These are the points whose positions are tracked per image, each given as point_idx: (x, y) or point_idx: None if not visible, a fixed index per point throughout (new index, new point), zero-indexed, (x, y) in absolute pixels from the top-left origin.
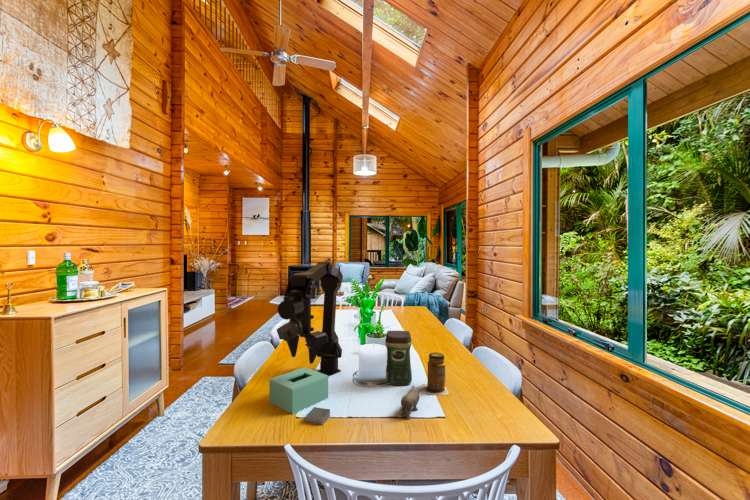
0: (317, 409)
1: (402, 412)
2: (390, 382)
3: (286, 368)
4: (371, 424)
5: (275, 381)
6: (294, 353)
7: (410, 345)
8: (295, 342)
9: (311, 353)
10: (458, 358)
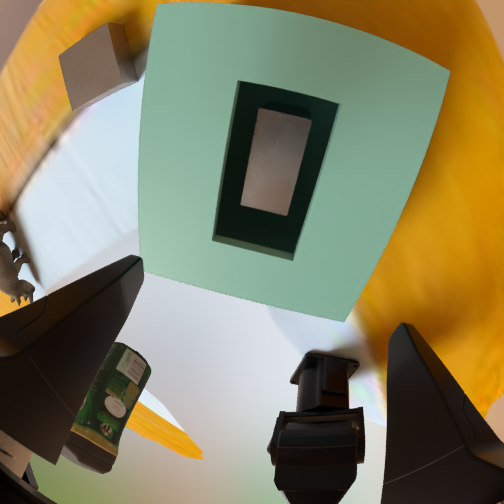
0: (101, 78)
1: (6, 224)
2: (116, 345)
3: (466, 343)
4: (12, 149)
5: (379, 38)
6: (397, 359)
7: None
8: (406, 463)
9: (35, 307)
10: (134, 424)
